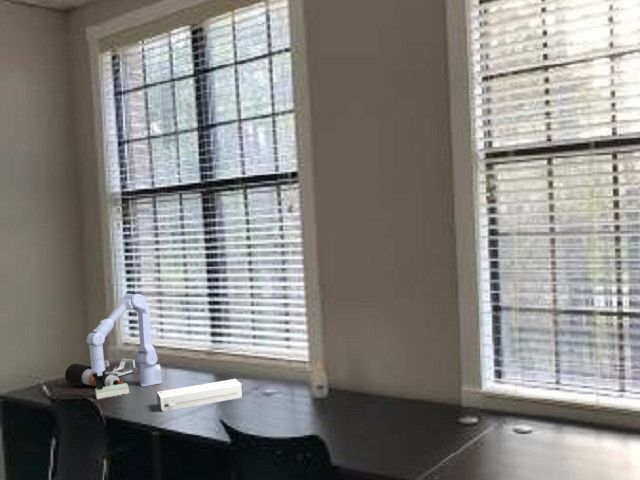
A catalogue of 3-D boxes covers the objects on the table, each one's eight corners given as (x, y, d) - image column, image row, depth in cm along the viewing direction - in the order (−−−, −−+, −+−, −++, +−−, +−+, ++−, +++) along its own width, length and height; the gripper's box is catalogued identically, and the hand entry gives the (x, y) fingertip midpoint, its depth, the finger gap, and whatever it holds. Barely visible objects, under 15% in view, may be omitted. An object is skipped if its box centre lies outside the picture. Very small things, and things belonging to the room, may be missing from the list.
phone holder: (107, 361, 349) (93, 360, 356) (109, 381, 349) (95, 379, 357) (136, 354, 363) (122, 352, 370) (138, 372, 364) (124, 371, 371)
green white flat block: (127, 390, 324) (126, 385, 324) (129, 393, 317) (128, 388, 317) (95, 396, 319) (95, 390, 319) (97, 399, 312) (96, 393, 312)
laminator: (237, 392, 304) (235, 378, 304) (243, 398, 293) (242, 384, 292) (157, 406, 293) (156, 391, 292) (161, 413, 281) (160, 398, 281)
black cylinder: (119, 399, 327) (112, 383, 322) (70, 388, 344) (62, 372, 339) (133, 384, 334) (126, 369, 330) (84, 374, 351) (76, 359, 346)
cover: (126, 384, 324) (126, 382, 324) (128, 388, 317) (128, 386, 317) (95, 390, 319) (94, 388, 319) (96, 393, 312) (96, 391, 312)
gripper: (86, 357, 321) (89, 387, 321) (89, 363, 307) (92, 393, 308) (102, 355, 323) (105, 384, 324) (105, 360, 310) (108, 390, 310)
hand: (100, 388), depth 316 cm, fingers closed
